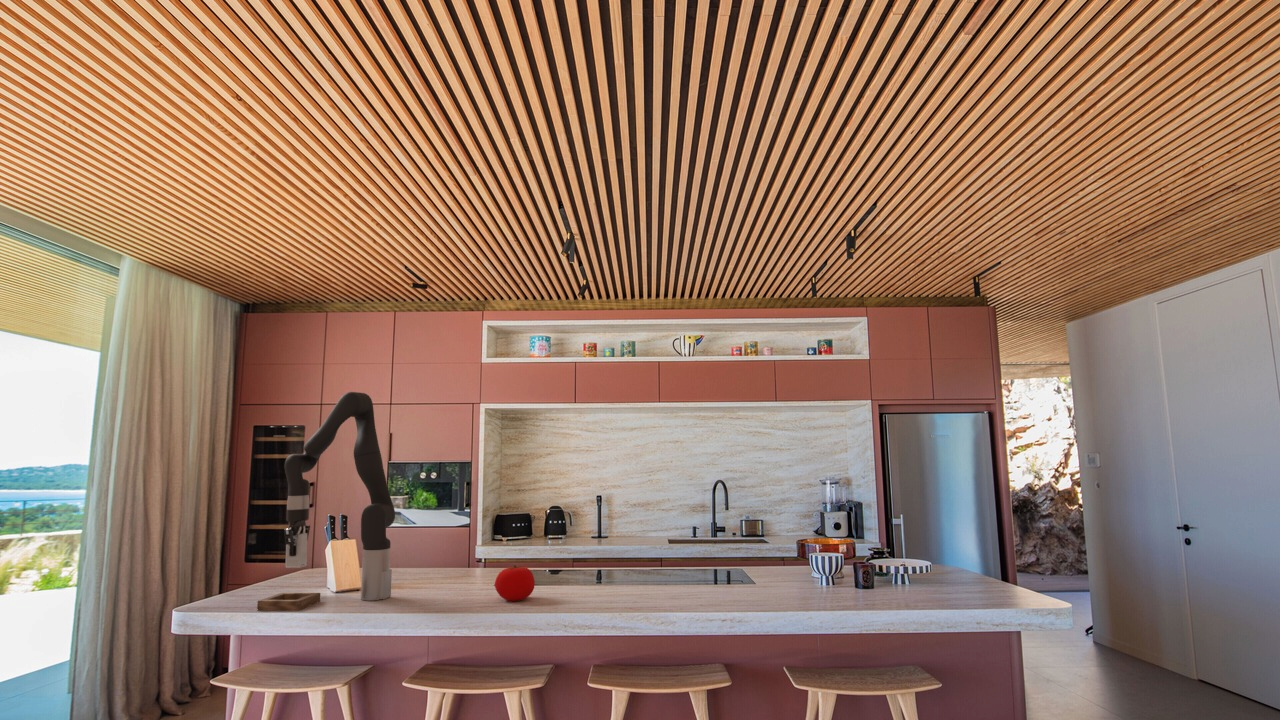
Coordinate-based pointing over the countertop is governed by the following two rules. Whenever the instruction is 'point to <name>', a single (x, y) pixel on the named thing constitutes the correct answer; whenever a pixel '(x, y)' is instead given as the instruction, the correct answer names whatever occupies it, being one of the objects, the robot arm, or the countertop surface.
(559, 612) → the countertop surface
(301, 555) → the skincare box
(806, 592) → the countertop surface
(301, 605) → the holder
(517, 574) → the tomato
